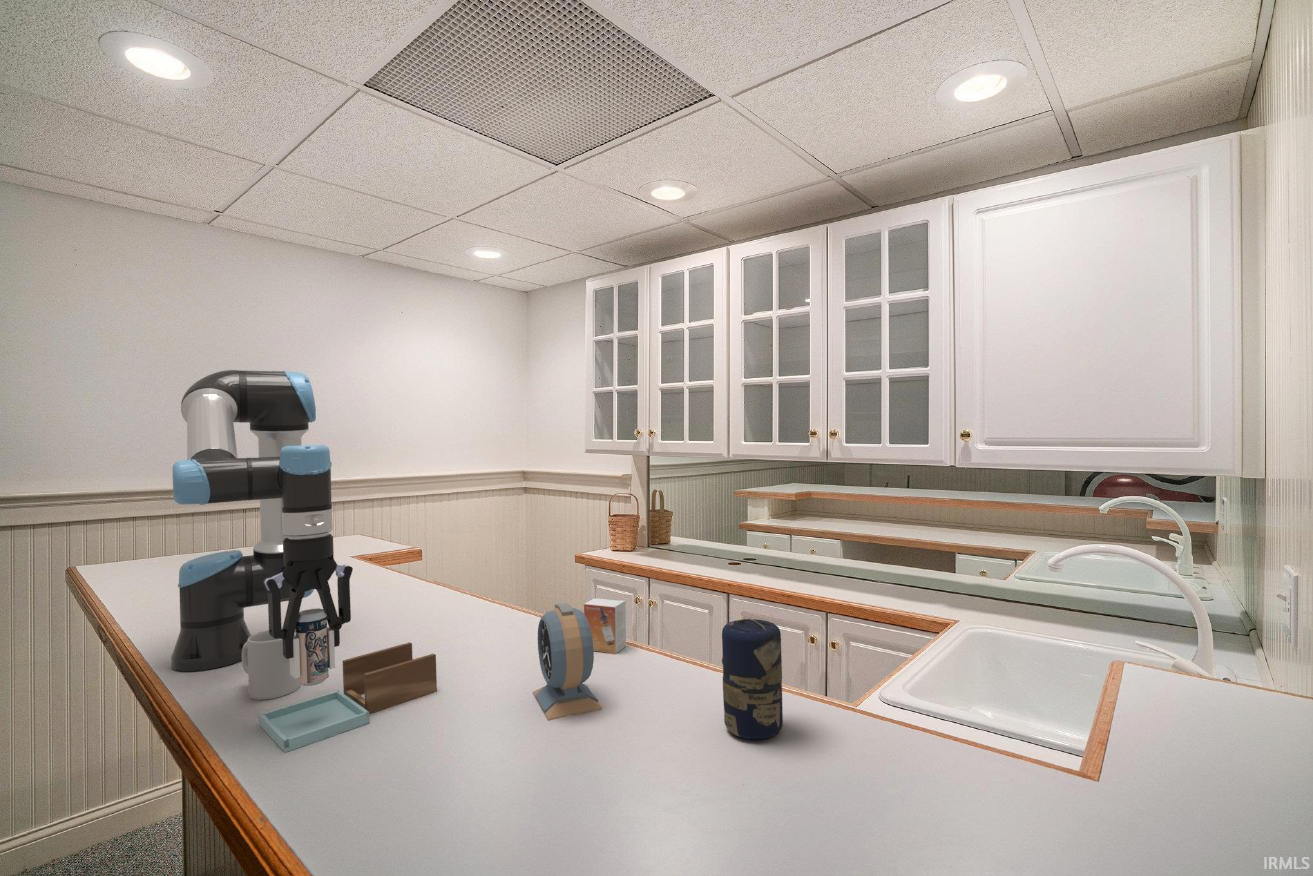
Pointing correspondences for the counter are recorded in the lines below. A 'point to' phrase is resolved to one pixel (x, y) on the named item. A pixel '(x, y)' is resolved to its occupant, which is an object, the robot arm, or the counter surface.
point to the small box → (607, 624)
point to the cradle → (388, 677)
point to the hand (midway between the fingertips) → (312, 670)
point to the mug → (267, 667)
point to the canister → (752, 678)
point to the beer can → (312, 646)
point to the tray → (313, 720)
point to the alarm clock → (565, 663)
